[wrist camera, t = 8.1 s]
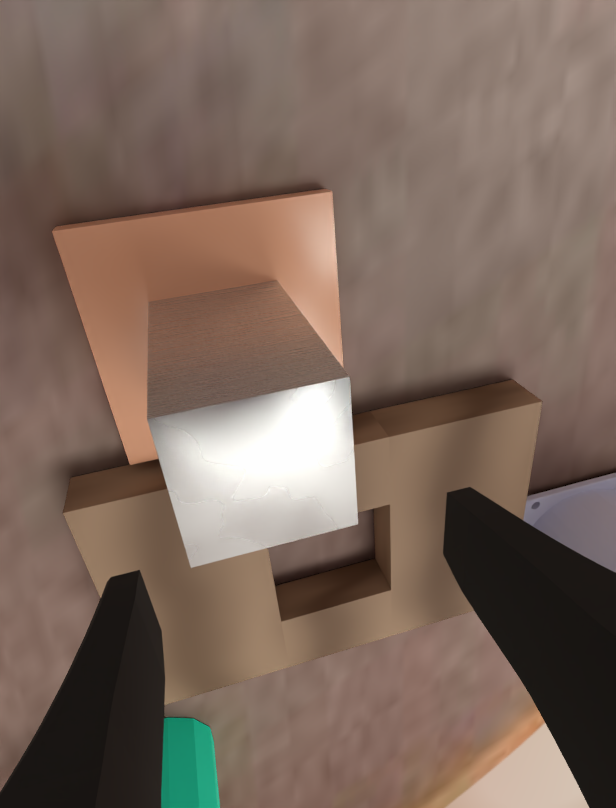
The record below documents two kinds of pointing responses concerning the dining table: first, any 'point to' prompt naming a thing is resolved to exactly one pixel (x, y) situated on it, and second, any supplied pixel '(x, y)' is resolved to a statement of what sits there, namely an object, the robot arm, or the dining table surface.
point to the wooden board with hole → (330, 591)
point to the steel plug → (248, 421)
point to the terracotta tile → (193, 280)
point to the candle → (188, 765)
